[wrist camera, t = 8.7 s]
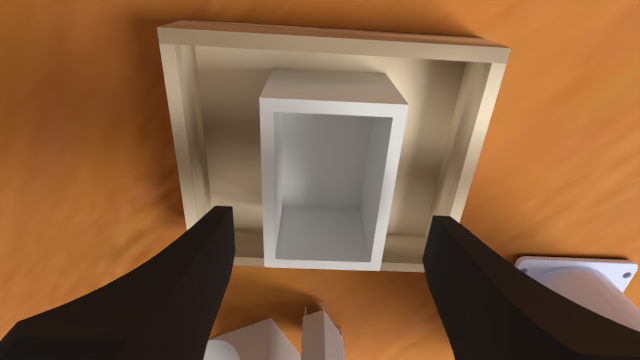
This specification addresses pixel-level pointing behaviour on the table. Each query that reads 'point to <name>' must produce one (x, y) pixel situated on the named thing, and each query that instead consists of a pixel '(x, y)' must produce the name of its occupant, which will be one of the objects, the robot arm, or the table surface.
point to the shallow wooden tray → (332, 55)
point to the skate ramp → (279, 341)
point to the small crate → (328, 167)
